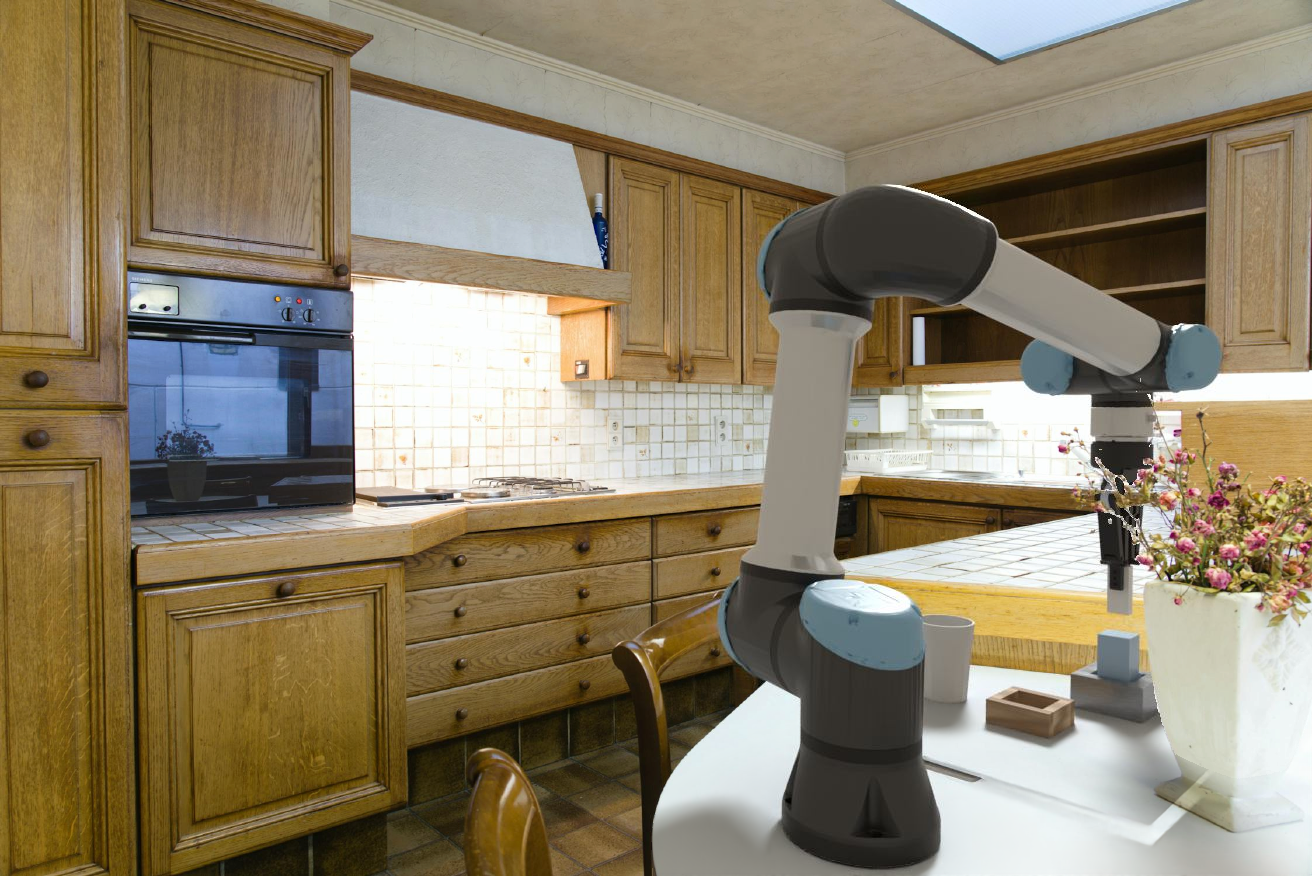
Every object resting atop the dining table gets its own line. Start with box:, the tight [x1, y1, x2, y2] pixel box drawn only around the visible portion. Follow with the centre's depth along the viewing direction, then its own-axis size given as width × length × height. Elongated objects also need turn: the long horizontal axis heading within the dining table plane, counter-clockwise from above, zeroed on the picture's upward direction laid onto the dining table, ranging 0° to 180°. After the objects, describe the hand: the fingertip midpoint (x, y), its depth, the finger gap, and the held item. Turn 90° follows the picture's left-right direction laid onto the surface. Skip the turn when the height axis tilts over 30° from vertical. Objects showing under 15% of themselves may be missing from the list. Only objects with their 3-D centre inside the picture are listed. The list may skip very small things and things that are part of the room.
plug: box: [1096, 628, 1141, 683], centre depth 117 cm, size 4×4×10 cm
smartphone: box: [923, 758, 983, 783], centre depth 103 cm, size 7×1×15 cm
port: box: [1069, 660, 1159, 724], centre depth 117 cm, size 9×9×5 cm
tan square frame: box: [985, 685, 1076, 740], centre depth 111 cm, size 8×8×4 cm
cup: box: [922, 613, 976, 704], centre depth 122 cm, size 8×8×12 cm
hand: (1119, 612), depth 117 cm, fingers closed
